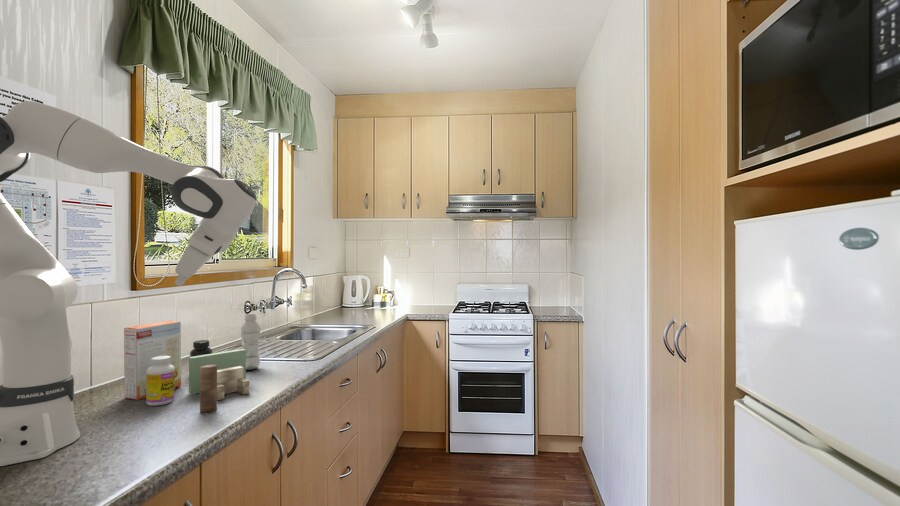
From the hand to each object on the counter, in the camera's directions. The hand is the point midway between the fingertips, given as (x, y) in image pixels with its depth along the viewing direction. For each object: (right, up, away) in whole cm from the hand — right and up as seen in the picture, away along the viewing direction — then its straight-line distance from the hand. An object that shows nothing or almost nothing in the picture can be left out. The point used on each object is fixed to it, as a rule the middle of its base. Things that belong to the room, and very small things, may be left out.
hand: (185, 278), depth 114 cm
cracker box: (-20, -36, +17) cm, 45 cm away
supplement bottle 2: (-16, -36, +35) cm, 53 cm away
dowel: (+5, -36, +2) cm, 36 cm away
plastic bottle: (-3, -36, +43) cm, 57 cm away
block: (+4, -36, +15) cm, 39 cm away
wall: (-3, -36, +22) cm, 42 cm away
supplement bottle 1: (-12, -36, +8) cm, 39 cm away
